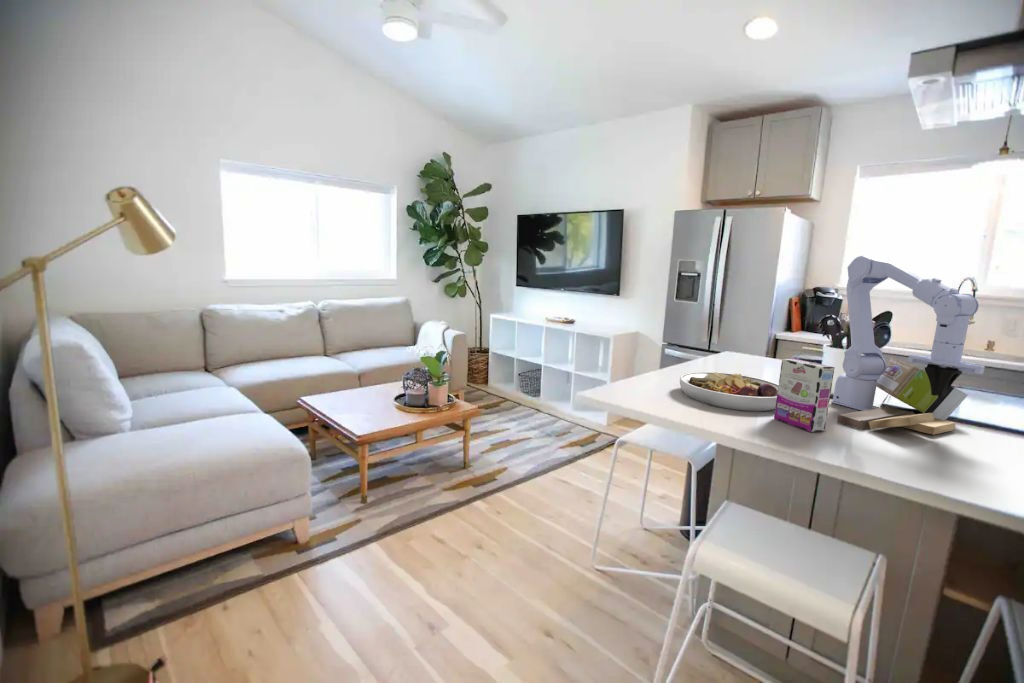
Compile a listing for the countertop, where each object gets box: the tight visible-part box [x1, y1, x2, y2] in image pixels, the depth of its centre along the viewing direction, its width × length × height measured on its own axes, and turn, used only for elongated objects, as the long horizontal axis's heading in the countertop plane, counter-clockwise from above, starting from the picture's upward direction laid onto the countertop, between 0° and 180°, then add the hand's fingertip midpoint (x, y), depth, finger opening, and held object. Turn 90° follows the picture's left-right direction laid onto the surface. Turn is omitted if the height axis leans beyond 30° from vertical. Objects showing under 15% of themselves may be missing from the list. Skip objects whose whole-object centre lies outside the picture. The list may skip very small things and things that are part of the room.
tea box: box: [876, 356, 969, 421], centre depth 137 cm, size 15×10×15 cm
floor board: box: [836, 405, 914, 430], centre depth 129 cm, size 6×24×2 cm, turn 116°
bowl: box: [679, 371, 779, 412], centre depth 145 cm, size 30×30×8 cm
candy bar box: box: [773, 358, 835, 433], centre depth 122 cm, size 11×5×16 cm, turn 21°
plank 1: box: [869, 413, 934, 430], centre depth 120 cm, size 9×11×2 cm
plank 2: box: [898, 413, 956, 436], centre depth 125 cm, size 9×11×2 cm
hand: (938, 395), depth 121 cm, fingers closed
